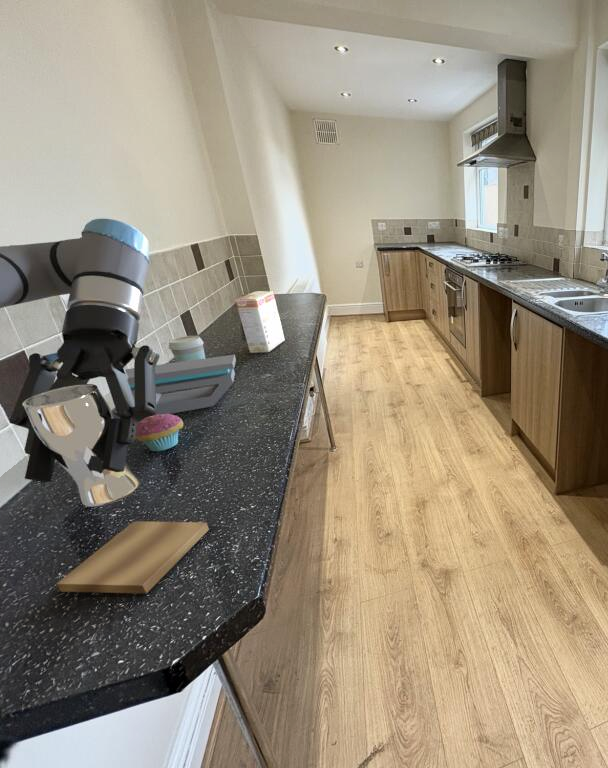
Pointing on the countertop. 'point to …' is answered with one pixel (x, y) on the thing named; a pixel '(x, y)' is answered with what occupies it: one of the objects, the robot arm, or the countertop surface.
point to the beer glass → (80, 440)
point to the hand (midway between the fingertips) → (76, 474)
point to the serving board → (134, 558)
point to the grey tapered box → (190, 383)
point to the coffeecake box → (260, 321)
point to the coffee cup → (187, 348)
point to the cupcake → (159, 431)
